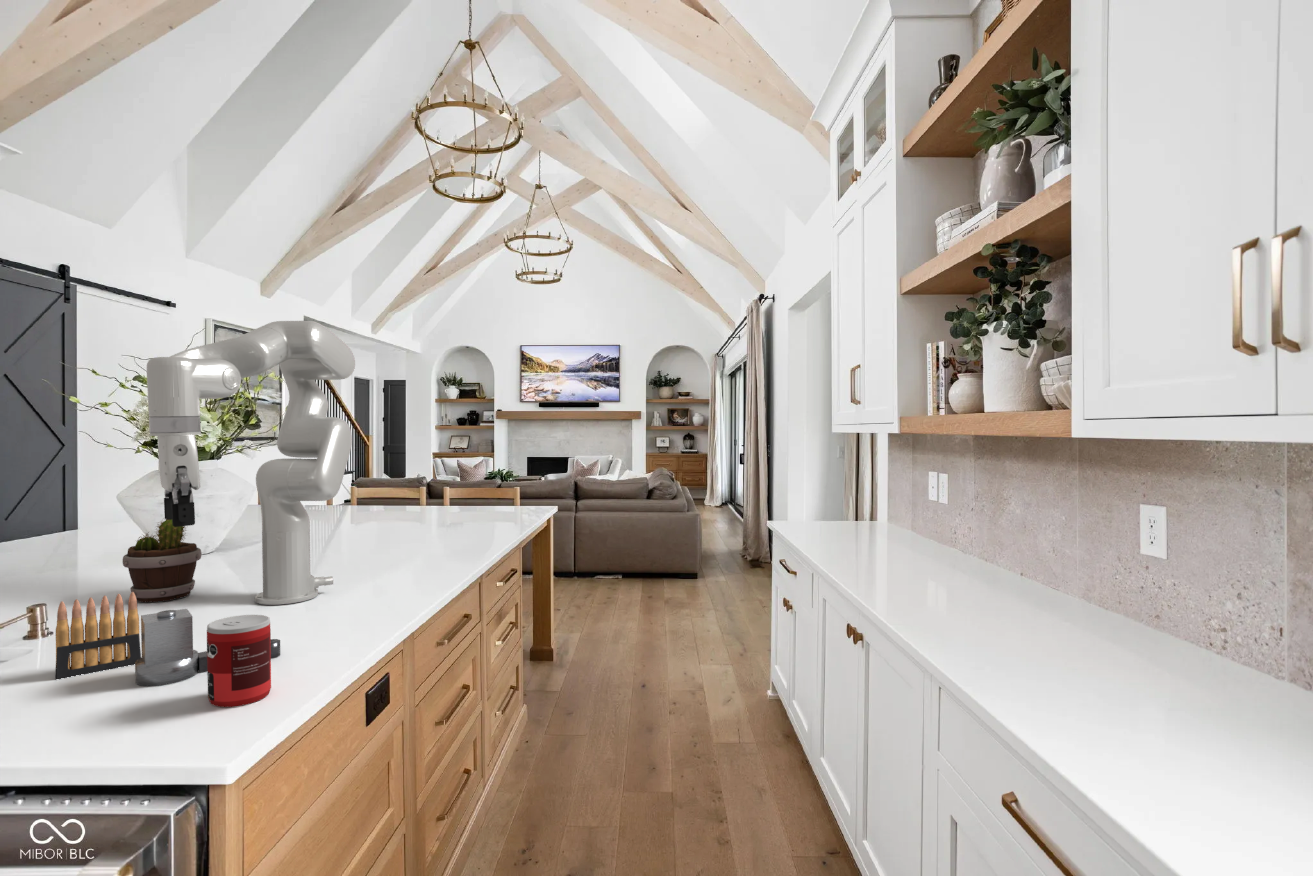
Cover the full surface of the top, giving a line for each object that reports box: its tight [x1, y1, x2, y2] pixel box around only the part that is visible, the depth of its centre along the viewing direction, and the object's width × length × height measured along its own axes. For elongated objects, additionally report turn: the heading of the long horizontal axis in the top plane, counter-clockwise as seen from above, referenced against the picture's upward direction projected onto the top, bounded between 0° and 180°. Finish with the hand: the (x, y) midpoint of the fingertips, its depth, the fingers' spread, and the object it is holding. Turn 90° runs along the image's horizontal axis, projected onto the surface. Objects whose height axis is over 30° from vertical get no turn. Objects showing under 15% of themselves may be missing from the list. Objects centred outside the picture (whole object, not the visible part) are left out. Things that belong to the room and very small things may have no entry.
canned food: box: [206, 614, 272, 708], centre depth 99 cm, size 8×8×11 cm
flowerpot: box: [122, 517, 202, 603], centre depth 156 cm, size 14×15×20 cm
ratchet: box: [134, 638, 281, 687], centre depth 111 cm, size 20×8×6 cm, turn 131°
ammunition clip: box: [54, 591, 142, 680], centre depth 110 cm, size 11×2×12 cm, turn 133°
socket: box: [140, 608, 194, 667], centre depth 107 cm, size 6×6×7 cm
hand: (179, 522), depth 123 cm, fingers open, 9 cm apart
